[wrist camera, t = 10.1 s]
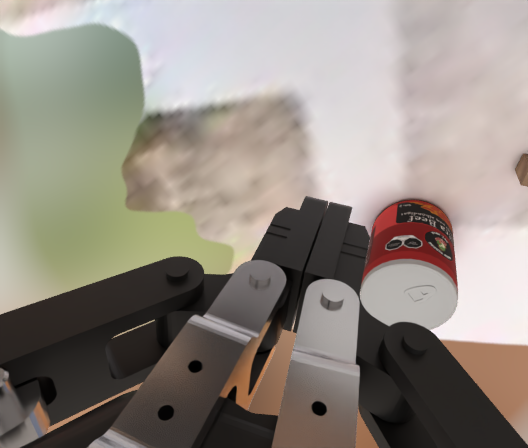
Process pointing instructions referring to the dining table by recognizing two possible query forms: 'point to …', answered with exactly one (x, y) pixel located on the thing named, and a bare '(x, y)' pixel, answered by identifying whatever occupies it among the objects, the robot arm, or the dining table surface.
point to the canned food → (410, 266)
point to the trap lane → (523, 170)
